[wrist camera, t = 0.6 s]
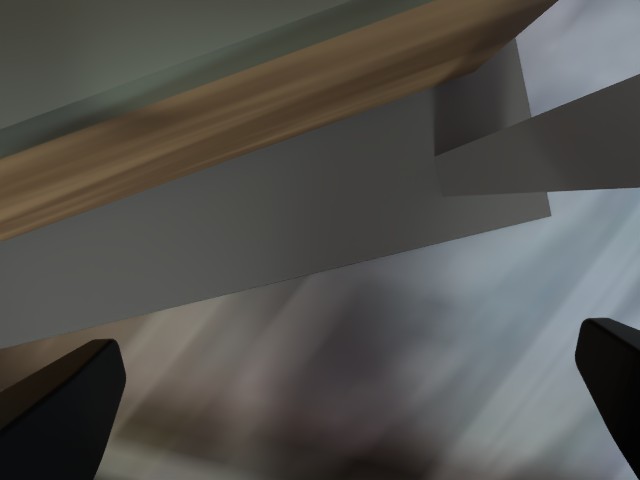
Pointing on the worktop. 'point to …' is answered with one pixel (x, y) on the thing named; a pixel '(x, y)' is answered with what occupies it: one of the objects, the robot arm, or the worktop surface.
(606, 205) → the worktop surface
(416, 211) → the grey base plate
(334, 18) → the gate leaf
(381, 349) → the worktop surface
